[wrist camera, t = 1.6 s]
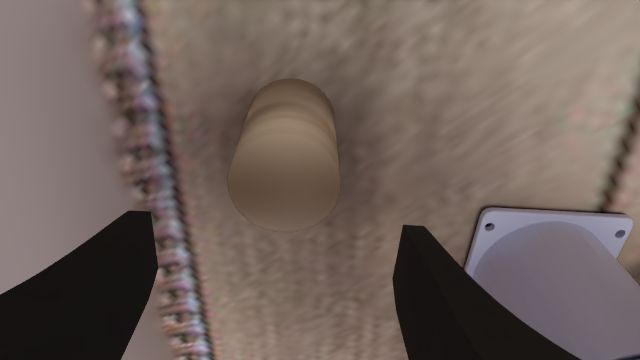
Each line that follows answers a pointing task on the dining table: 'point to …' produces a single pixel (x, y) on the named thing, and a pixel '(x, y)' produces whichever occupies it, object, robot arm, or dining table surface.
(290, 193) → the birch cylinder
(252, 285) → the dining table surface
